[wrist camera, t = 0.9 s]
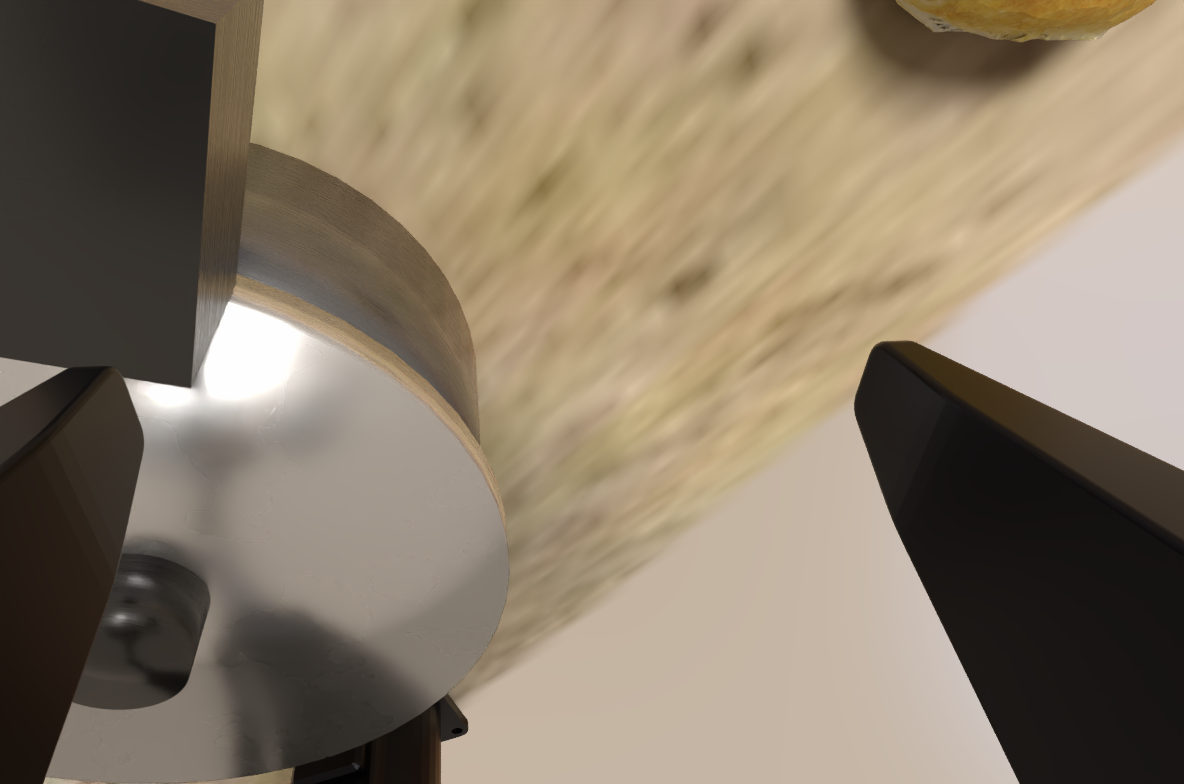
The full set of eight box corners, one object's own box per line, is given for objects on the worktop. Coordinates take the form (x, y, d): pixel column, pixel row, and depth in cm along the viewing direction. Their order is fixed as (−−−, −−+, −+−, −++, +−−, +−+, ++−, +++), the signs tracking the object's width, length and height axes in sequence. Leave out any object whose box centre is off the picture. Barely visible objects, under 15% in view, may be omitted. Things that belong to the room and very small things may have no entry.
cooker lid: (428, 756, 24) (426, 877, 22) (-211, 737, 19) (-320, 893, 17) (696, 108, 13) (763, 190, 10) (-663, -344, 8) (-1232, -418, 5)
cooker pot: (537, 475, 27) (560, 635, 22) (146, 596, 28) (77, 780, 23) (236, -188, 15) (127, -182, 10) (-440, 54, 16) (-873, 179, 11)
